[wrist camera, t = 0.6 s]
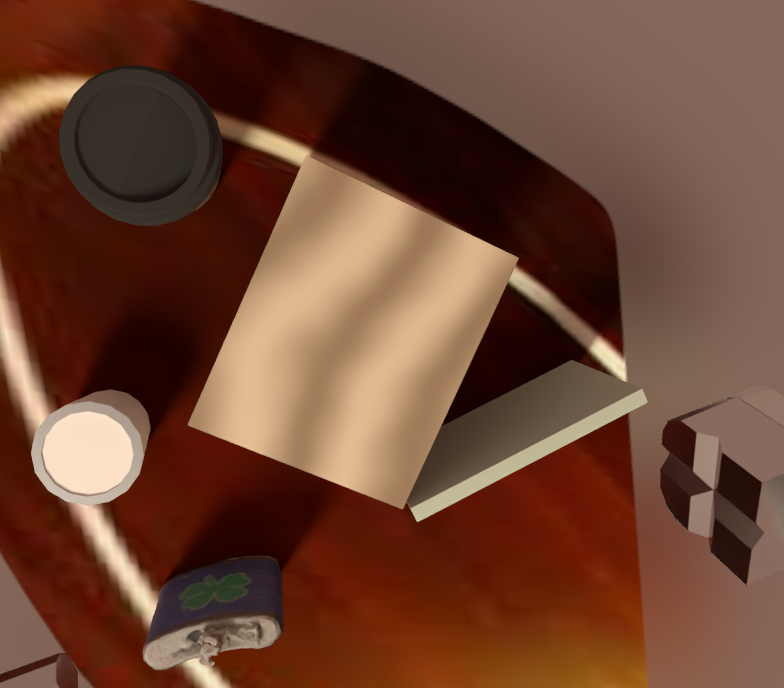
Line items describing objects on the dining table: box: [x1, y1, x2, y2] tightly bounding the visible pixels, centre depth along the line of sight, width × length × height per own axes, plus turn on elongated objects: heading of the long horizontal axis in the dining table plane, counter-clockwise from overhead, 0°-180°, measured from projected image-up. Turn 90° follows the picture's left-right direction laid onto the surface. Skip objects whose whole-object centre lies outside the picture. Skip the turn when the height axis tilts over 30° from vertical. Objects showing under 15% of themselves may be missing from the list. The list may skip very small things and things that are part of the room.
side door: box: [407, 360, 647, 522], centre depth 53 cm, size 2×17×12 cm, turn 115°
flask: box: [143, 555, 284, 670], centre depth 52 cm, size 9×3×11 cm, turn 99°
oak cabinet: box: [188, 155, 519, 509], centre depth 50 cm, size 14×17×12 cm
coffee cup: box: [59, 65, 223, 226], centre depth 46 cm, size 8×8×15 cm
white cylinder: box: [31, 390, 150, 505], centre depth 51 cm, size 7×7×7 cm
